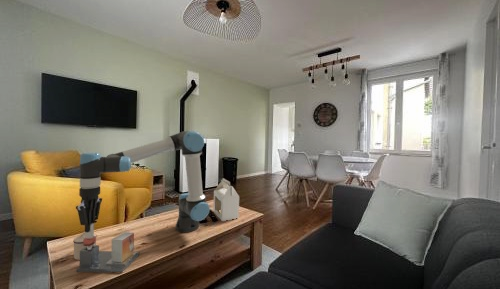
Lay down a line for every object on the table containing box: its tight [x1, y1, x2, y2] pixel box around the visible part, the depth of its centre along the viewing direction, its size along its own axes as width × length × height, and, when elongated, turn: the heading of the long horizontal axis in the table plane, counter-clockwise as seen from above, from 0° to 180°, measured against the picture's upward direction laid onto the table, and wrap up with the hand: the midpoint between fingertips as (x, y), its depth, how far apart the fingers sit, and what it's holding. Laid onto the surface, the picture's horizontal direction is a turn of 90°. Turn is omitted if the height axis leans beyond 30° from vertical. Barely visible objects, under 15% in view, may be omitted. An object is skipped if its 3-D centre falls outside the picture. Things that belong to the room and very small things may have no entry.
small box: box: [111, 231, 135, 262], centre depth 98 cm, size 8×6×10 cm
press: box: [76, 244, 140, 274], centre depth 97 cm, size 20×14×8 cm
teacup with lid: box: [73, 231, 97, 261], centre depth 104 cm, size 12×9×12 cm
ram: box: [83, 235, 97, 250], centre depth 94 cm, size 5×5×10 cm
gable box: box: [212, 178, 240, 222], centre depth 162 cm, size 22×13×28 cm, turn 27°
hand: (89, 237), depth 94 cm, fingers closed
